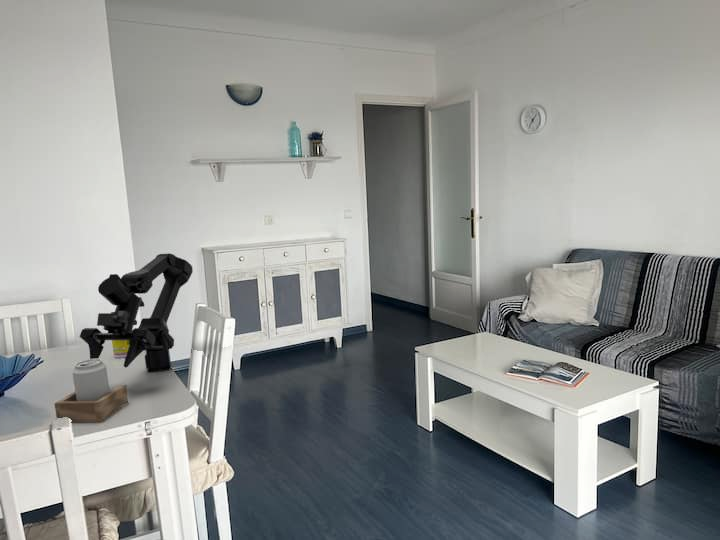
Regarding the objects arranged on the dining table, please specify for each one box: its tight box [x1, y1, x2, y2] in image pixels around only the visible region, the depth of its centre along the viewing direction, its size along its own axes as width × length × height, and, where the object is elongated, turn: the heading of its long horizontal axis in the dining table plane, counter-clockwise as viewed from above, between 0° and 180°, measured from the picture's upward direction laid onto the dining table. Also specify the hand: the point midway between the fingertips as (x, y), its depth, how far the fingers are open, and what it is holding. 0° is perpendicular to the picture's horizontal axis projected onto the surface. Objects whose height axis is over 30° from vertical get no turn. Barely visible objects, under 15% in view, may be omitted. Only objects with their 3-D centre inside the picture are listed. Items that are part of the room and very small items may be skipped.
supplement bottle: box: [111, 332, 132, 359], centre depth 183 cm, size 7×7×13 cm
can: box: [71, 358, 111, 401], centre depth 135 cm, size 8×8×12 cm
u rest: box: [54, 384, 129, 423], centre depth 135 cm, size 11×11×5 cm
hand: (108, 366), depth 143 cm, fingers open, 9 cm apart
